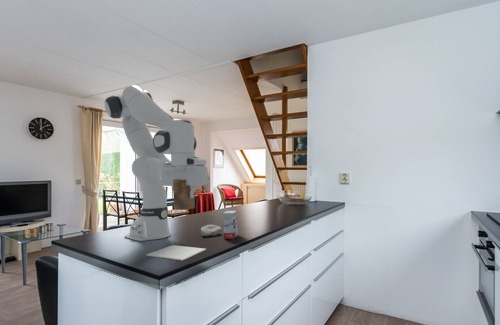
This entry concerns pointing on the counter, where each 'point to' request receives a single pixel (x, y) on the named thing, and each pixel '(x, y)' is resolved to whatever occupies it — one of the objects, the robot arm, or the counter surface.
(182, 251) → the mat
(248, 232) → the counter surface
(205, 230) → the fossil
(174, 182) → the walnut block
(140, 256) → the counter surface
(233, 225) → the ink box
